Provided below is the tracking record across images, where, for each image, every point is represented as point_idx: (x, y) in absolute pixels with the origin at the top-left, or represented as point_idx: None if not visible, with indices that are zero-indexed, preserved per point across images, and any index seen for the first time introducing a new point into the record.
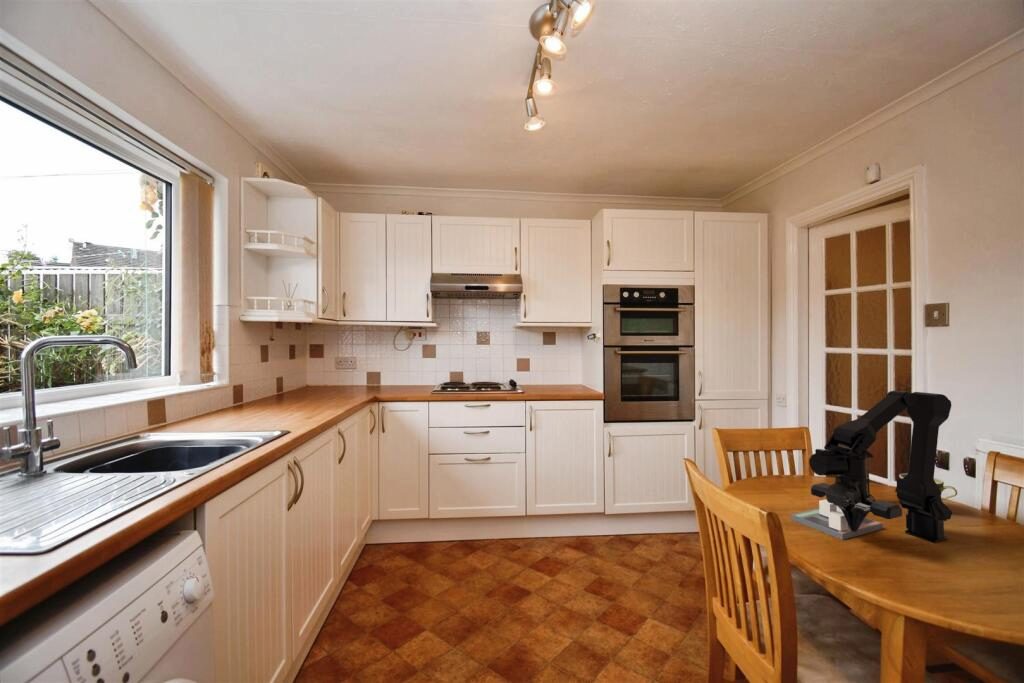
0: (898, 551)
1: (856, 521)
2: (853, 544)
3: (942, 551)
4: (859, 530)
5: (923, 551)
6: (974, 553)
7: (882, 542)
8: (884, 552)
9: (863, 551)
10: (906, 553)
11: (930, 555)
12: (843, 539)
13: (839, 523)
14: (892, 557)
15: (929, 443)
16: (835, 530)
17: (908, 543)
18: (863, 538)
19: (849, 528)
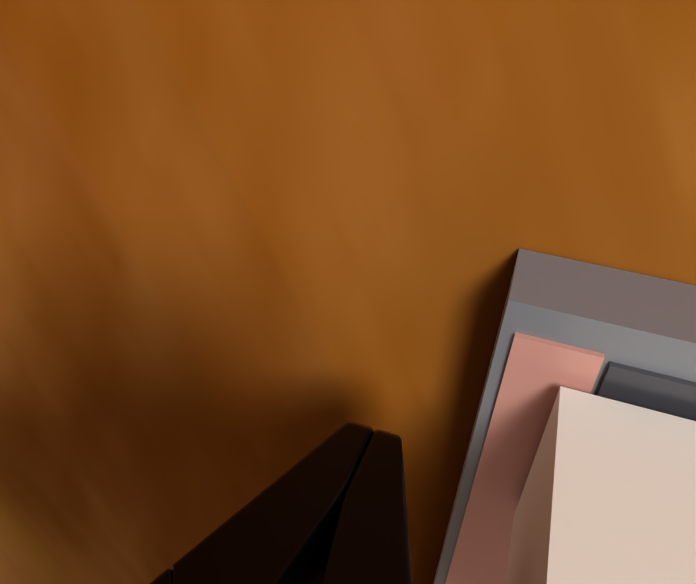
0: (101, 387)
1: (173, 574)
2: (361, 212)
3: (56, 559)
4: (435, 578)
5: (72, 500)
6: None
7: (258, 486)
8: (108, 268)
9: (181, 76)
10: (63, 391)
11: (20, 464)
12: (513, 273)
13: (577, 509)
14: (12, 202)
15: None
16: (652, 376)
17: None
18: None
19: None
